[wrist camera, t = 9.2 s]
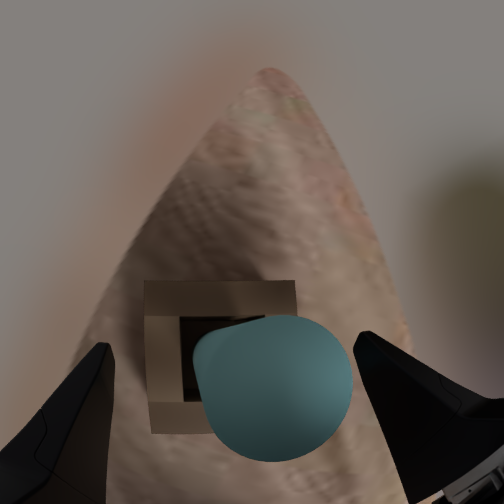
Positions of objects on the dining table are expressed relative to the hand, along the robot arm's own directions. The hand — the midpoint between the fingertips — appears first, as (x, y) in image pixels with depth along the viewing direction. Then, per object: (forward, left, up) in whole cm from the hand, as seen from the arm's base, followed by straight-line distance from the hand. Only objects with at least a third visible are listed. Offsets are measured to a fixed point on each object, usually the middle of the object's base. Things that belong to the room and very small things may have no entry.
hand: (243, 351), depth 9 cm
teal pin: (-1, 0, -9) cm, 9 cm away
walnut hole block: (-1, 0, -9) cm, 9 cm away
